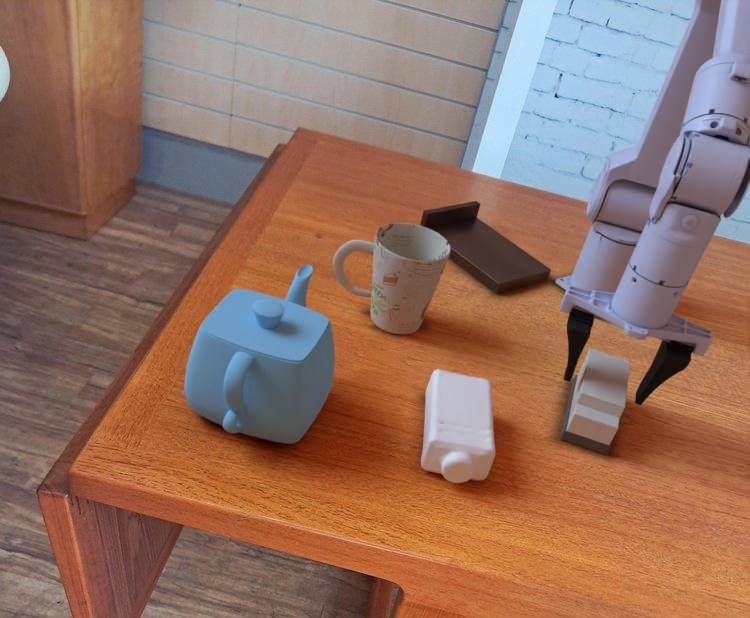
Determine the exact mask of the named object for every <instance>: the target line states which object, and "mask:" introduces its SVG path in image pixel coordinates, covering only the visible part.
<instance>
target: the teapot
mask: <svg viewBox="0 0 750 618" xmlns="http://www.w3.org/2000/svg"><path fill="white" fill-rule="evenodd" d="M313 271H314V268H313V266H312V264H309V263H307V264H304V265H302V266H301V267H300V268H299V269H298V270H297V271H296V273H295V275H294V278H293V280H292V282H291V285H290V287H289V289H288V291H287V293H286V296H285V298H281V297H277V296H275V295H274V296H273V295H270V294H266V293H262V292H258V291H255V290H249V289H246V288H245V289H244V288H234V289H232V290H231V291H230V292H229V293H227V294H226V295H225V296H224V297H223V298H222V300H220V301H219V303H218V304H217V305H216V306H214V308H213V309H212V310H211V311H210V312H209V314H208V315H206V317H205V318H204V319H203V321H202V322H201V324H200V325H199V328H198V331H197V332H196V335H195V338H194V341H193V343H192V346H191V349H190V353H189V356H188V360H187V364H186V369H185V376H184V384H183V385H184V387H183V388H184V390H183V391H184V396H185V399H186V401H187V403H188V406H189V407H190V409H191V410H192V411H193V412H195V413H196V414H197V415H199V416H201V417H203V418H204V419H207V420H208V421H211V422H212V423H215V424H217V425H220V426H222V428H223V429H224V430H225V432H227V433H229V434H238V433H241V434H243V435H248V436H250V437H255V438H258V439H262V440H265V441H266V440H267V441H271V442H275V443H279V444H280V443H281V444H288V445H289V444H296V443H298V442H299V441H300V440H302V438H303V436H304V435H305V434H306V433H307V431H308V430H309V429H310V427H311V425H313V423H314V421H315V420H316V418H317V417H318V416H319V414H320V412H321V410H322V409H323V407H324V405H325V403H326V401H327V399H328V397H329V394H330V392H331V390H332V388H333V384H334V377H335V368H336V367H335V365H336V364H335V363H336V355H335V354H336V350H335V340H334V334H333V326H332V322H331V320H330V319H329V318H328V317H327V316H325V315H324V314H322V313H320V312H318V311H315V310H313V309H311V308H308V307H307V295H308V287H309V283H310V280H311V278H312V275H313Z"/></svg>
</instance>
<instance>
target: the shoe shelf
mask: <svg viewBox="0 0 750 618" xmlns="http://www.w3.org/2000/svg"><path fill="white" fill-rule="evenodd" d="M480 208H481V203H480V202H478V201H477V200H474V201H467V202H463V203H457V204H451V205H445V206H442V207H436V208H430V209H426V210H423V212H422V215H421V220H420V224H419V225H420V226H423V227H426V228H429V229H431V230H433V231H435V232H437V233H438V234H440V235H441V236H443V237H444V238H445V239H446V240H447V242H448V243H449V245H450V248H451V250H450V255H449V258H448V259H450V260H451V261H452V262H454V264H456V265H457V266H459V267H460V268H461V269H463V270H464V271H466V272H467V273H468V274H469V275H471V276H472V277H473V278H475V279H476V280H477V281H478V282H480V283H481V284H483V285H484V286H485V287H487V288H488V289H489V290H491V291H492V292H493V293H494V294H498V295H499V294H501V293H505V292H508V291H511V290H515V289H518V288H522V287H526V286H529V285H533V284H536V283H540V282H543V281H547V280H549V277H550V276H551V275H550V274H551V271H552V269H551V268H550V267H548V266H547V265H545V264H544V263H543V262H541V261H540V260H538V258H537V259H536V258H535V257H534V256H533V255H531V254H530V253H528V252H527V251H525V250H524V249H522V248H521V247H520V246H518V245H517V244H515V242H512V241H511V240H510V239H508V238H507V237H505V236H504V235H503V234H501V233H500V232H498V231H497V230H495V228H492V227H491V226H489V224H487V223H486V222H484V221H483V220H481V219H480V218H478V214H479V211H480Z"/></svg>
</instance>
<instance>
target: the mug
mask: <svg viewBox="0 0 750 618" xmlns="http://www.w3.org/2000/svg"><path fill="white" fill-rule="evenodd" d="M420 225H421V224H415V223H409V222H391V223H387V224H384V225H382V226H380V227H379V228H378V229H377V230H376V232H375V235H374V241H373V242H371V241H367V240H363V239H351V240H349V241H346V242H345V243H343V244H342V245H341V246H339V248H338V249H337V250H336V252H335V254H334V256H333V260H332V270H333V274H334V277H335V279H336V280H337V282H338V283H339V284H340V285H341V286H342V288H343V289H345V290H346V291H347V292H349V293H350V294H352V295H354V296H358V297H363V298H369V299H370V310H369V311H370V312H369V313H370V314H369V315H370V320H371V321H372V323H373V325H375V326H376V327H377V328H379V329H381V331H382V330H383V331H384V332H388V333H390V334H395V335H409V334H413V333H415V332H417V331H418V330H419V329H420V327H422V326H421V325H422V323H423V321H424V319H425V316H426V314H427V311H428V309H429V306H430V304H431V302H432V299H433V297H434V294H435V292H436V289H437V287H438V285H439V282H440V280H441V278H442V276H443V273H444V270H445V268H446V266H447V263H448V261H449V259H450V258H449V255H450V250H451V248H450V245H449V243H448V242H447V240H446V239H445V238H444V237H443V236H441V235H440V234H438V233H437V232H435V231H433V230H431V229H429V228H426V227H423V226H420ZM354 252H361V253H366V254H369V255H372V257H373V260H372V276H371V277H372V278H371V290H369V289H364V288H362V287H358V286H357V287H356V286H354V285H353V283H351V281H349V278H348V277H347V275H346V273H345V268H344V264H345V261H346V259H347V257H349V256H350V255H351V254H353V253H354Z"/></svg>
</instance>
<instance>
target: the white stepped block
mask: <svg viewBox="0 0 750 618" xmlns="http://www.w3.org/2000/svg"><path fill="white" fill-rule="evenodd" d="M630 367H631V361H630V360H628V359H625V358H621V357H618V356H615V355H612V354H610V353H606V352H603V351H601V350H597V349H595V348H591V347H590V348H589V349H588V351H587V353H586V356H585V358H584V360H583V362H582V365H581V366H580V369H579V370H578V373H577V374H575V376H574V378H573V380H572V382H571V386H570V391H569V395H568V400H567V405H566V411H565V414H564V420H563V424H562V430H561V434H560V440H562V441H564V442H567V443H571V444H573V445H576V446H579V447H583V448H586V449H588V450H591V451H595V452H598V453H601V454H603V455H608V453H609V451H610V449H611V447H612V441H613V439H614V438H615V435H616V433H617V431H618V430H619V427H620V426H619V425H620V419H621V416H622V414H623V413H624V410H625V409H626V404H627V403H626V402H627V394H628V386H629V377H630V369H631V368H630Z"/></svg>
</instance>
